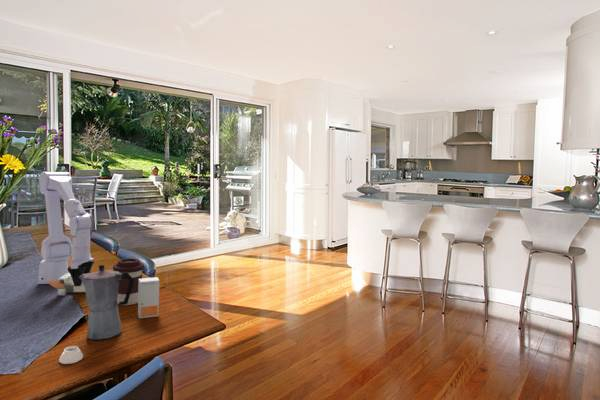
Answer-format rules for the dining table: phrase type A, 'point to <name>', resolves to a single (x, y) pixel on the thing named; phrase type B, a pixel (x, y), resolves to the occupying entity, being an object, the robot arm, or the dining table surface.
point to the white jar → (71, 355)
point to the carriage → (79, 288)
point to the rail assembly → (67, 284)
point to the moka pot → (104, 302)
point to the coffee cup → (135, 272)
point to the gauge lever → (57, 284)
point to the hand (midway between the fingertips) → (81, 282)
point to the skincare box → (148, 297)
